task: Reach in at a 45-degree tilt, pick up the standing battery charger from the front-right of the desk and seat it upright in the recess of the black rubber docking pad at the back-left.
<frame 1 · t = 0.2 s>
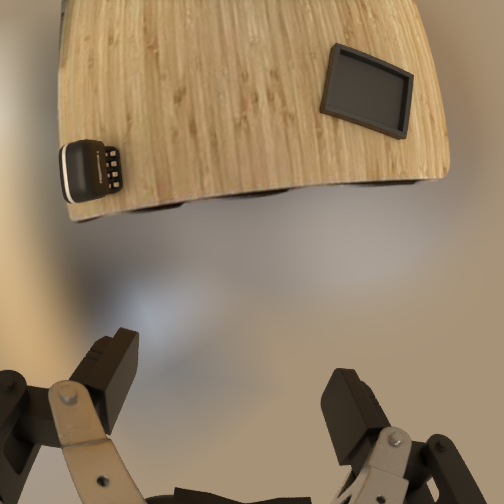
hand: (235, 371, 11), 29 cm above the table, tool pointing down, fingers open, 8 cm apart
battery charger: (114, 169, 36), on the table
dock pad: (367, 92, 35), on the table
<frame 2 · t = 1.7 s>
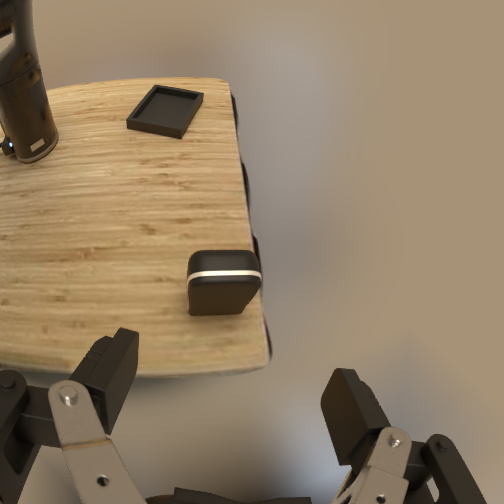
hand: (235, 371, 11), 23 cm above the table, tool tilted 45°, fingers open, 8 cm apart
battery charger: (214, 301, 36), on the table
dock pad: (166, 113, 50), on the table
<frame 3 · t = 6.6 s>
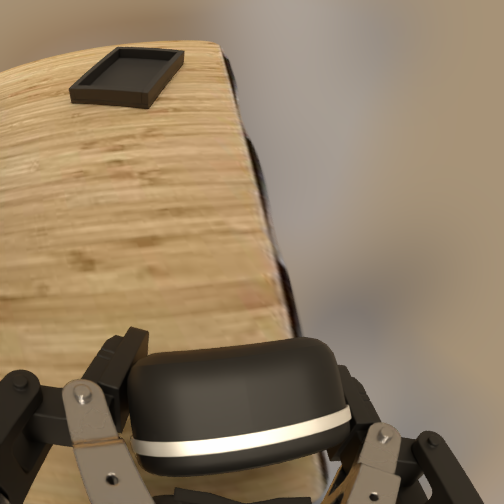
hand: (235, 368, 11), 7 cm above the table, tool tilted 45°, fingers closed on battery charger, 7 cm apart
battery charger: (214, 401, 17), on the table, touching gripper
dock pad: (130, 79, 31), on the table
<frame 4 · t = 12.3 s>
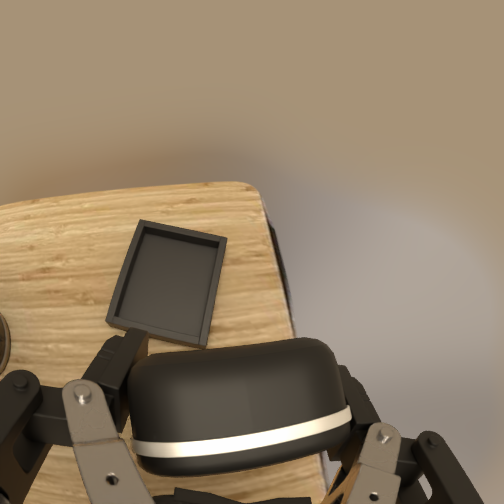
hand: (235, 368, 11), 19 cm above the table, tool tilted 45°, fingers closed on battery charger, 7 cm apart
battery charger: (214, 402, 17), point 12 cm above the table, touching gripper
dock pad: (169, 285, 32), on the table
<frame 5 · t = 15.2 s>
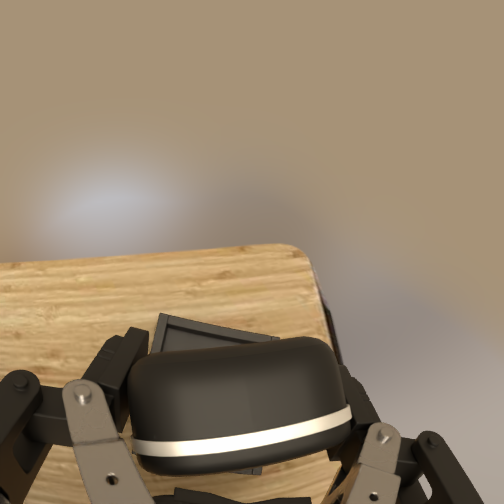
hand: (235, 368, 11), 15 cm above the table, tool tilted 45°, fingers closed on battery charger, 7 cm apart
battery charger: (214, 401, 17), point 8 cm above the table, touching gripper
dock pad: (206, 398, 23), on the table
when the fingers open (8 cm above the table, at t = 18.0 s): battery charger stays where it is, resting on dock pad.
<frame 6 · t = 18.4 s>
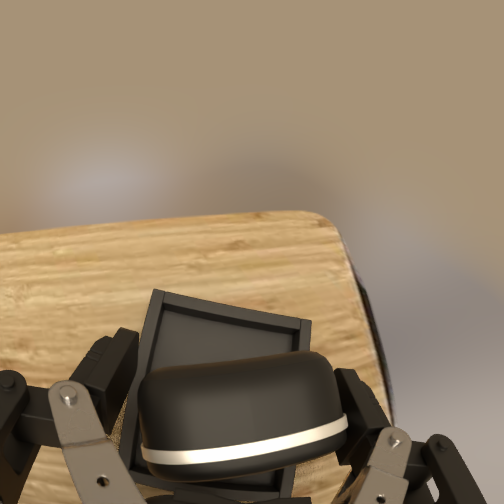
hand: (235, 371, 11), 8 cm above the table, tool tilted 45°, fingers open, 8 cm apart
battery charger: (217, 406, 17), resting on dock pad
dock pad: (215, 403, 17), on the table
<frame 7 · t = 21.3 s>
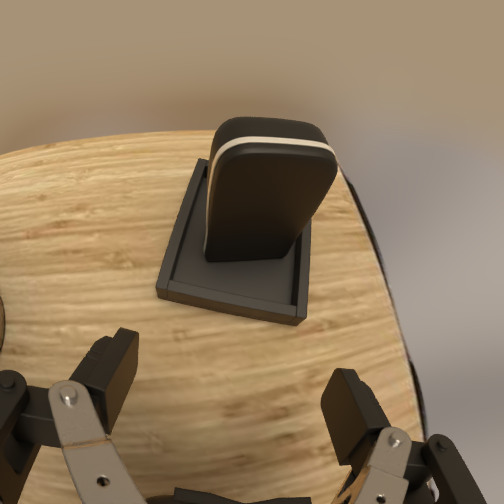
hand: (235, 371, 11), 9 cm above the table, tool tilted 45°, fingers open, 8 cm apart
battery charger: (243, 241, 24), resting on dock pad
dock pad: (241, 241, 25), on the table
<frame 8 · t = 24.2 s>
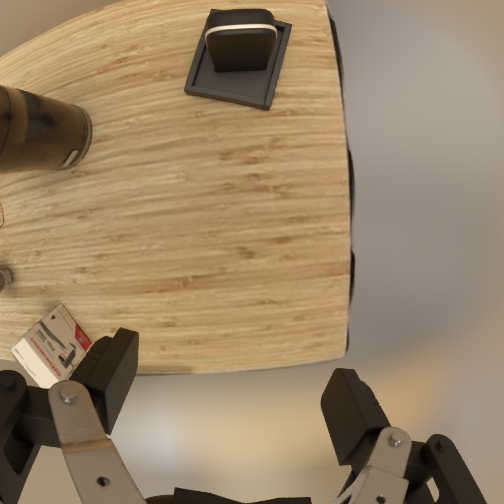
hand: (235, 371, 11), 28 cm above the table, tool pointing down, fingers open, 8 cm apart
battery charger: (240, 59, 32), resting on dock pad
light bulb: (8, 274, 38), on the table
dock pad: (239, 59, 32), on the table
ink box: (69, 327, 41), on the table
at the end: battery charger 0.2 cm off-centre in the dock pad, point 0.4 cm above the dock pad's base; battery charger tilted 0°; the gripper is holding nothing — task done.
